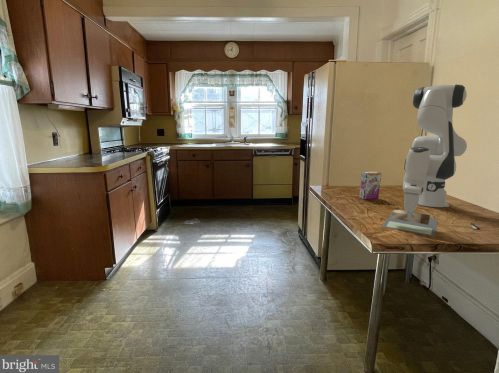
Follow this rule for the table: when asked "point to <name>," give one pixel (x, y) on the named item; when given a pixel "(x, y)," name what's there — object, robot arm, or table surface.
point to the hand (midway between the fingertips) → (410, 217)
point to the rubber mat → (412, 226)
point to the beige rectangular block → (415, 217)
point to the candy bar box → (370, 185)
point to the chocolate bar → (474, 226)
